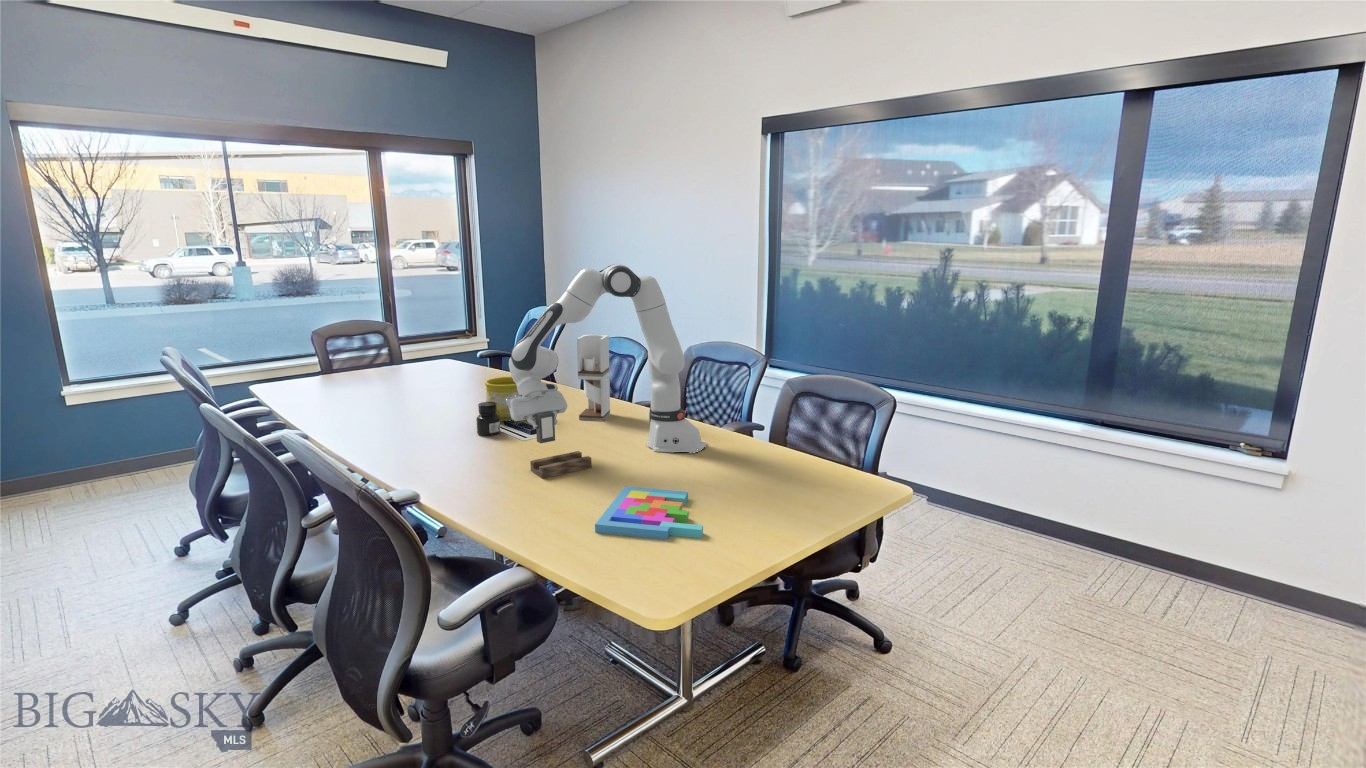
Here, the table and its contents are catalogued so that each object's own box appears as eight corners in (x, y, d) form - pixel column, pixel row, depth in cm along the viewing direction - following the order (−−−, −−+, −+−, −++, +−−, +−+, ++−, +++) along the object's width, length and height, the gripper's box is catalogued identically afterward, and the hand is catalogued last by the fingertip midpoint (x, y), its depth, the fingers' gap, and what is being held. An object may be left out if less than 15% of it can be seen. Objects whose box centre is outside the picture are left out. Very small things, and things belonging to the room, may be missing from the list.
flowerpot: (524, 424, 274) (522, 385, 271) (481, 423, 275) (478, 385, 271) (534, 412, 292) (532, 376, 289) (493, 412, 292) (491, 376, 289)
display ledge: (578, 460, 230) (578, 450, 229) (591, 467, 223) (591, 457, 222) (530, 470, 220) (530, 460, 219) (542, 478, 213) (542, 468, 212)
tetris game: (595, 534, 174) (699, 544, 169) (594, 524, 174) (699, 534, 168) (625, 494, 201) (715, 502, 196) (625, 486, 201) (716, 494, 195)
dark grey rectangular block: (536, 441, 229) (535, 413, 227) (551, 438, 232) (549, 411, 230) (540, 443, 227) (539, 415, 224) (555, 440, 230) (553, 412, 228)
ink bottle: (496, 436, 257) (494, 406, 254) (473, 436, 257) (471, 406, 254) (503, 429, 266) (502, 400, 264) (481, 429, 266) (480, 400, 264)
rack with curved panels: (586, 413, 292) (584, 334, 285) (610, 414, 291) (608, 335, 284) (579, 419, 281) (577, 338, 274) (603, 420, 280) (601, 339, 272)
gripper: (506, 392, 225) (519, 426, 219) (560, 384, 237) (574, 416, 231) (502, 402, 229) (515, 436, 224) (555, 393, 241) (569, 425, 236)
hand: (546, 425), depth 228 cm, fingers closed on dark grey rectangular block, 5 cm apart
